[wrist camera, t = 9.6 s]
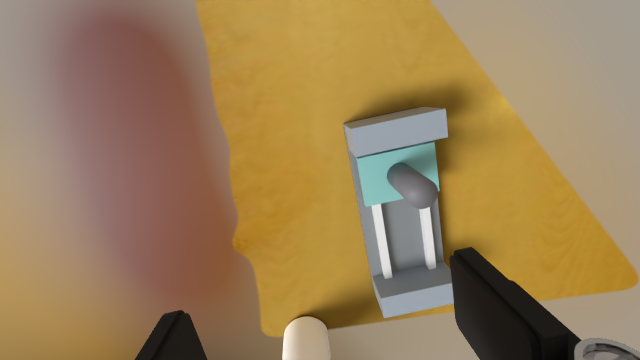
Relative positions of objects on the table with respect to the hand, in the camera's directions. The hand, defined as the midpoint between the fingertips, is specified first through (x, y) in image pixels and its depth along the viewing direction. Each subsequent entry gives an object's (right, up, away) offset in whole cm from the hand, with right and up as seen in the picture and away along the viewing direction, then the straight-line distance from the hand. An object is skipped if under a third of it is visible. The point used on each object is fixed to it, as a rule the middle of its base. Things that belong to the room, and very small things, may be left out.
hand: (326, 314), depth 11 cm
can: (-2, -18, +35) cm, 39 cm away
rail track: (+10, +1, +30) cm, 31 cm away
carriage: (+9, +6, +26) cm, 28 cm away
